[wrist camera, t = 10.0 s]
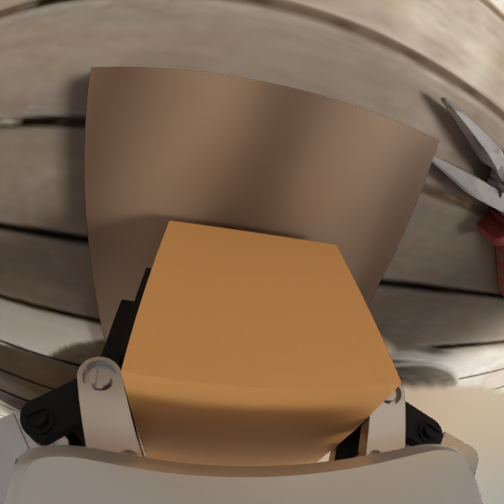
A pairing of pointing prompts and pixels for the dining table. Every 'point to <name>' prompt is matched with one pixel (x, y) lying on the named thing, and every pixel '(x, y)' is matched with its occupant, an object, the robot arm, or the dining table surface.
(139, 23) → the dining table surface
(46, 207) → the dining table surface
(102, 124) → the board
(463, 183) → the pliers
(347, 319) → the matte orange cube
